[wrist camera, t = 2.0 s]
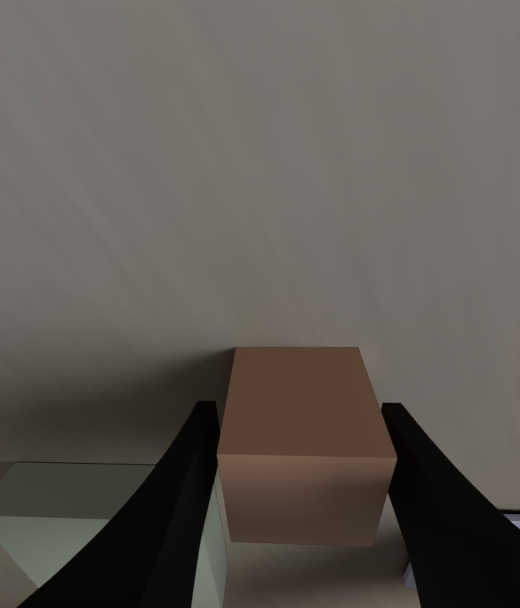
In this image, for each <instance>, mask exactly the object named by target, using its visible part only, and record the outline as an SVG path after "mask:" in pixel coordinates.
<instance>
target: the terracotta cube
mask: <svg viewBox="0 0 520 608" xmlns="http://www.w3.org/2000/svg"><path fill="white" fill-rule="evenodd" d="M217 458H218V465H219V471H220V477H221V484H222V490H223V496H224V502H225V509H226V515H227V521H228V528H229V534H230V540H231V542H247V543H274V544H302V545H330V546H357V547H372V545H373V542H374V538H375V535H376V531H377V528H378V524H379V521H380V517H381V514H382V510H383V507H384V503H385V500H386V496H387V493H388V489H389V486H390V482H391V479H392V475H393V472H394V468H395V465H396V461H397V455H396V452H395V450H394V447H393V444H392V441H391V438H390V435H389V433H388V430H387V427H386V424H385V421H384V418H383V416H382V413H381V410H380V407H379V404H378V402H377V399H376V396H375V393H374V390H373V387H372V385H371V382H370V379H369V376H368V373H367V370H366V368H365V365H364V362H363V359H362V356H361V354H360V351H359V348H358V347H236V350H235V356H234V361H233V367H232V372H231V378H230V384H229V389H228V395H227V400H226V406H225V411H224V417H223V423H222V428H221V434H220V439H219V445H218V450H217Z"/></svg>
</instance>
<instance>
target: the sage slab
mask: <svg viewBox="0 0 520 608" xmlns="http://www.w3.org/2000/svg"><path fill="white" fill-rule="evenodd" d="M154 467H155V465H110V464H64V463H19V462H15V463H14V464H13V465H12V467H11V468H10V469H9V470H8V472H7V473H6V474H5V476H4V477H3V478H2V480H1V481H0V545H1V546H2V547H3V548H4V550H5V551H6V552H7V553H8V554H9V555H10V556H11V558H12V559H13V560H14V561H15V562H16V563H17V564H18V565H19V567H20V568H21V569H22V570H23V571H24V572H25V573H26V575H27V576H28V577H29V578H30V579H31V580H32V581H33V583H34V584H35V585H36V586H37V587H38V588H40V587H41V586H42V585H43V584H44V583H45V582H47V581H48V580H49V579H50V578H51V577H52V576H53V575H55V574H56V573H57V572H58V571H59V570H60V569H61V568H62V567H63V566H64V565H65V564H66V563H67V562H68V561H69V560H71V559H72V558H73V557H74V556H75V555H76V554H77V553H78V552H79V551H80V550H81V549H82V548H83V547H84V546H85V545H86V544H87V543H88V542H89V541H90V540H91V539H92V538H93V537H94V536H95V535H96V534H97V533H98V532H99V531H100V530H101V529H102V528H103V527H104V526H105V525H106V524H107V523H108V522H109V521H110V520H111V518H112V517H113V516H114V515H115V514H116V513H117V512H118V511H119V510H120V509H121V508H122V507H123V505H124V504H125V503H126V502H127V501H128V500H129V498H130V497H131V496H132V495H133V494H134V493H135V491H136V490H137V489H138V488H139V487H140V485H141V484H142V483H143V482H144V480H145V479H146V478H147V477H148V475H149V474H150V473H151V471H152V470H153V469H154ZM227 565H228V561H227V556H226V550H225V544H224V539H223V533H222V527H221V522H220V516H219V511H218V505H217V499H216V494H215V488H214V485H213V489H212V494H211V498H210V502H209V507H208V511H207V516H206V520H205V524H204V529H203V533H202V538H201V543H200V549H199V555H198V562H197V569H196V576H195V583H194V591H193V598H192V606H191V608H223V601H224V592H225V583H226V574H227Z"/></svg>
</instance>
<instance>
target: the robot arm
mask: <svg viewBox="0 0 520 608" xmlns="http://www.w3.org/2000/svg"><path fill="white" fill-rule="evenodd" d="M381 413H382V416H383V418H384V421H385V424H386V427H387V430H388V433H389V435H390V438H391V441H392V444H393V447H394V450H395V452H396V455H397V461H396V465H395V468H394V472H393V475H392V479H391V482H390V486H389V489H388V494H389V497H390V500H391V503H392V506H393V509H394V512H395V515H396V518H397V521H398V524H399V527H400V530H401V533H402V536H403V539H404V542H405V545H406V549H407V552H408V555H409V559H410V562H409V564H408V567H407V569H406V571H405V574H404V576H403V582H404V585H405V586H406V587H408V588H417V592H418V596H419V600H420V605H421V608H520V514H502V513H501V512H500V511H499V510H498V509H497V508H496V507H495V506H494V505H493V504H492V503H491V502H490V501H489V500H487V499H486V498H485V497H484V496H483V495H482V494H481V493H480V492H479V491H478V490H477V489H476V488H475V487H474V486H473V485H472V484H471V483H470V482H469V481H468V479H467V478H466V477H465V476H464V475H463V474H462V473H461V472H460V471H459V470H458V469H457V468H456V467H455V466H454V465H453V464H452V463H451V461H450V460H449V459H448V458H447V457H446V456H445V455H444V454H443V452H442V451H441V450H440V449H439V448H438V447H437V446H436V445H435V443H434V442H433V441H432V440H431V439H430V438H429V436H428V435H427V434H426V433H425V432H424V431H423V429H422V428H421V427H420V426H419V425H418V423H417V422H416V421H415V420H414V418H413V417H412V416H411V415H410V414H409V412H408V411H407V410H406V409H405V407H404V406H403V405H402V404H401V403H383V404H382V408H381ZM219 439H220V428H219V421H218V414H217V407H216V401H198V402H197V403H196V405H195V407H194V409H193V410H192V412H191V414H190V415H189V417H188V419H187V420H186V422H185V424H184V425H183V427H182V428H181V430H180V432H179V433H178V435H177V436H176V438H175V439H174V441H173V442H172V444H171V445H170V447H169V448H168V449H167V451H166V452H165V454H164V455H163V457H162V458H161V459H160V461H159V462H158V463H157V465H156V466H155V467H154V469H153V470H152V471H151V473H150V474H149V475H148V477H147V478H146V479H145V480H144V482H143V483H142V484H141V485H140V487H139V488H138V489H137V490H136V491H135V493H134V494H133V495H132V496H131V497H130V498H129V500H128V501H127V502H126V503H125V504H124V505H123V507H122V508H121V509H120V510H119V511H118V512H117V513H116V514H115V515H114V516H113V517H112V518H111V520H110V521H109V522H108V523H107V524H106V525H105V526H104V527H103V528H102V529H101V530H100V531H99V532H98V533H97V534H96V535H95V536H94V537H93V538H92V539H91V540H90V541H89V542H88V543H87V544H86V545H85V546H84V547H83V548H82V549H81V550H80V551H79V552H78V553H77V554H76V555H75V556H74V557H73V558H72V559H71V560H69V561H68V562H67V563H66V564H65V565H64V566H63V567H62V568H61V569H60V570H59V571H58V572H57V573H56V574H55V575H53V576H52V577H51V578H50V579H49V580H48V581H47V582H45V583H44V584H43V585H42V586H41V587H40V588H38V589H37V590H36V591H35V592H34V593H33V594H32V595H30V596H29V597H28V598H27V599H26V600H25V601H23V602H22V603H21V604H20V605H19V606H18V607H17V608H191V606H192V598H193V591H194V583H195V576H196V569H197V562H198V555H199V549H200V543H201V538H202V533H203V529H204V524H205V520H206V516H207V511H208V507H209V502H210V498H211V494H212V489H213V485H214V480H215V476H216V471H217V467H218V458H217V450H218V445H219Z"/></svg>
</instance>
